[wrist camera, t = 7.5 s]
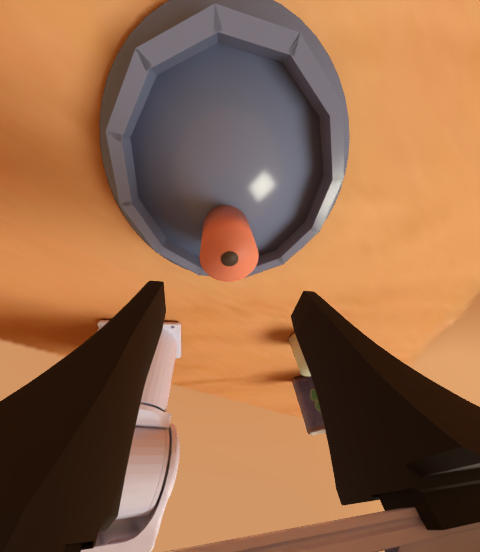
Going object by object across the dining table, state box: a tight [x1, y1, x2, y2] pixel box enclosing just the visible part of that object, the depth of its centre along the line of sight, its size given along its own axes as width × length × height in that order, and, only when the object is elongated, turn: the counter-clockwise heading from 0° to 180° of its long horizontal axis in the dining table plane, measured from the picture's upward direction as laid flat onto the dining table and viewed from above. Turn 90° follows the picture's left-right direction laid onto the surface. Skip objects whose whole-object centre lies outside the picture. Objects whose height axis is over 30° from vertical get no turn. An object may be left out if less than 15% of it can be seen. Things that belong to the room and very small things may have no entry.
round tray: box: [99, 0, 349, 278], centre depth 14 cm, size 18×18×2 cm
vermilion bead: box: [200, 205, 259, 281], centre depth 15 cm, size 4×4×5 cm
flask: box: [292, 375, 326, 435], centre depth 35 cm, size 9×3×11 cm, turn 97°
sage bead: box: [289, 333, 311, 376], centre depth 28 cm, size 4×4×5 cm
